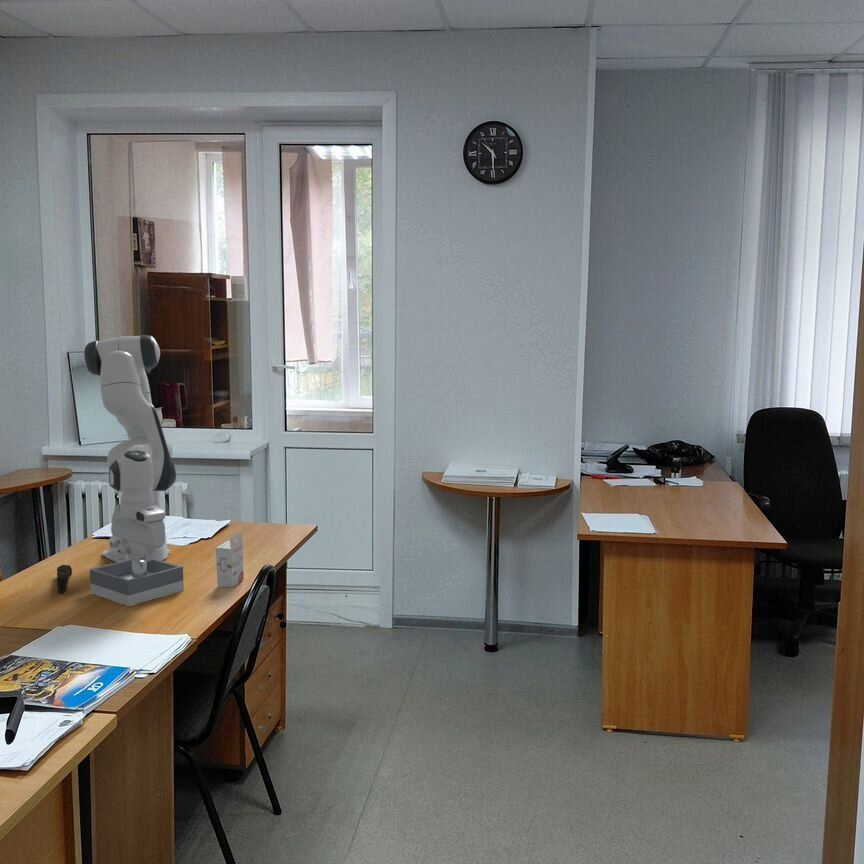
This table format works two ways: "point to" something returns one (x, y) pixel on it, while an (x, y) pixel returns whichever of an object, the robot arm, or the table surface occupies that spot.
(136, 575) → the peg
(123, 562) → the open gray box
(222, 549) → the ink cartridge box
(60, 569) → the hand tool
